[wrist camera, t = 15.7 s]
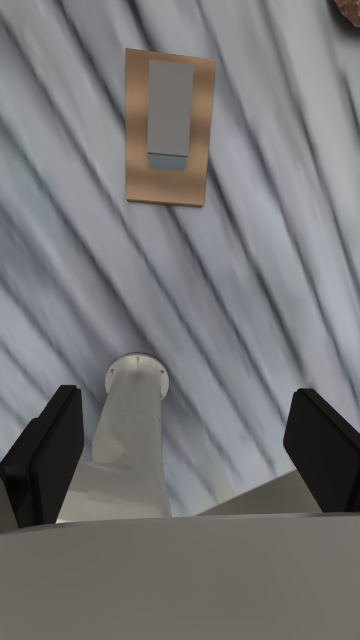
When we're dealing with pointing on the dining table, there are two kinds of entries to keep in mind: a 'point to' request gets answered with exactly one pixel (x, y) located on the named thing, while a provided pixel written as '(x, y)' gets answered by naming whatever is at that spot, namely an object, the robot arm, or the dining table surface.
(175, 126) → the block
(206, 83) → the stand
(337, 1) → the decorative rock
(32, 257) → the dining table surface
